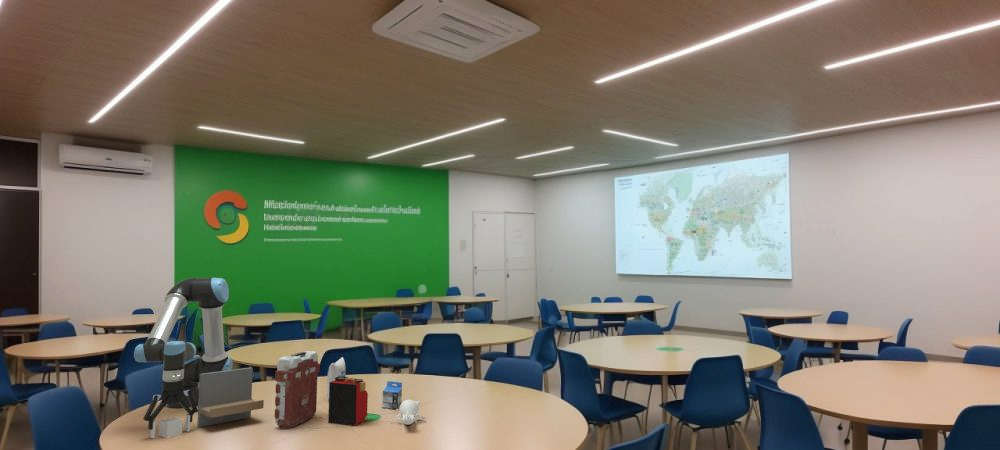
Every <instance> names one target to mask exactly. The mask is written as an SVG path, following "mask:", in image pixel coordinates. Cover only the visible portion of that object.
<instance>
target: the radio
mask: <svg viewBox="0 0 1000 450" xmlns="http://www.w3.org/2000/svg"><path fill="white" fill-rule="evenodd" d="M368 396H369V394H368V391H367V390H366V382H365V381H364V379H362V378H354V377H348V376H345V377H344V376H342V377H336V378H335V381H331V382H329V400H328V420H327V421H328V423H329V424H339V425H345V426H346V425H348V426H359V425H360V423H363V422H365V421H366V418H367V416H368V398H369V397H368Z"/></svg>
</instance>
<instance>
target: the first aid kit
mask: <svg viewBox="0 0 1000 450" xmlns="http://www.w3.org/2000/svg"><path fill="white" fill-rule="evenodd" d="M320 364H321V363H319V355H318V353H317V351H313V350H312V351H311V350H309V351H308V350H305V351H299V352H297V353H293V354H290V355H285V356H281V357H280V358H278V361H277V366H276V367H277V370H275V372H274V373H275V374H274V380H275V381H276V384H275V394H276V396H275V398H274V404H275V409H274V419H275V424H276V425H277V427H280V428H283V429H288V428H289V429H290V428H293V427H295V426H297V425H301V424H303V423H304V422H306V421H308V420H310V419H311V418H314V417H315V415H316V412H317V403H318V402H317V400H318V397H317V396H318V374H319V373H320V370H321V369H320V367H321V365H320Z"/></svg>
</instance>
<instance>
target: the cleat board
mask: <svg viewBox="0 0 1000 450" xmlns="http://www.w3.org/2000/svg"><path fill="white" fill-rule="evenodd" d="M253 369H254V368H253V367H252V366H251V367H243V368H237V369H236V368H235V369H232V370H227V371H219V372H211V373H203V374H200V379H199V400H198V405H197V409H198V412H197V422H196V423H197V428H198V427H199V428H202V426H203V427H206V426H207V427H208V426H212V425H217V424H222V423H223V424H224V423H227V422H233V421H237V420H239V421H240V420H244V419H249V418H251V417H252V411H256V410H261V409H264V407H265V406H264V401H265V400H264V399H260V400H255V399H252V395H253V394H252V393H253V374H254V373H253V371H254V370H253Z"/></svg>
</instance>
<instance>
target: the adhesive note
mask: <svg viewBox="0 0 1000 450" xmlns="http://www.w3.org/2000/svg"><path fill="white" fill-rule="evenodd" d="M183 422H184V421H183V418H179V417H174V416H173V417H169V418H165V419H161V420H159V421H158V436H159V437H163V438H167V439H169V438H173V437H176V436H179V434H180V435H182V434H183ZM175 435H176V436H175ZM172 436H173V437H172ZM168 437H169V438H168Z"/></svg>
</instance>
